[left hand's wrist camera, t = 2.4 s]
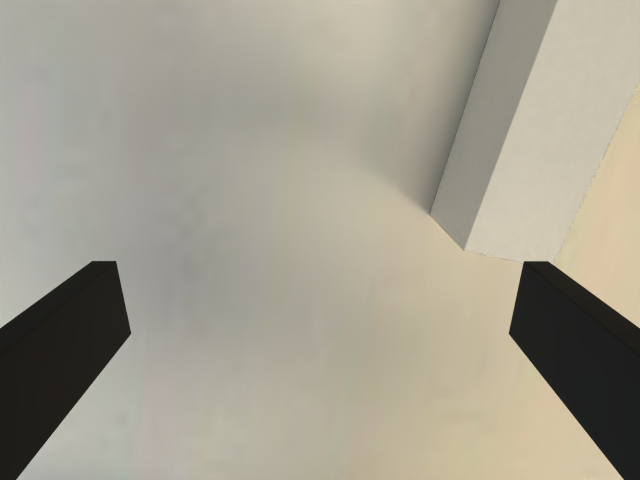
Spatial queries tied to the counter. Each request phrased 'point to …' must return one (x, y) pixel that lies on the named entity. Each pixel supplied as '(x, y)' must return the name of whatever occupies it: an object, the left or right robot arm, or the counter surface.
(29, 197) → the counter surface
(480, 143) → the bar
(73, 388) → the left robot arm
